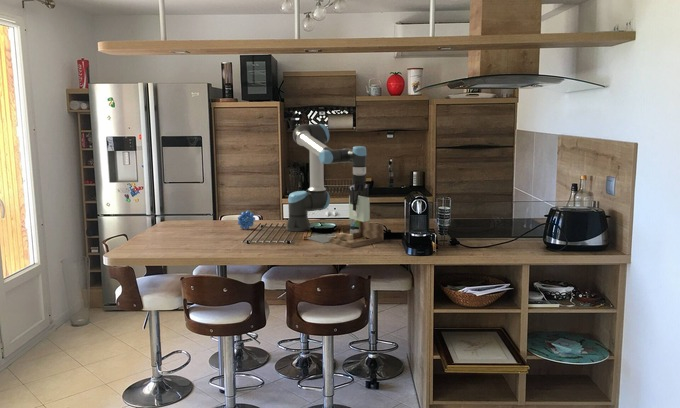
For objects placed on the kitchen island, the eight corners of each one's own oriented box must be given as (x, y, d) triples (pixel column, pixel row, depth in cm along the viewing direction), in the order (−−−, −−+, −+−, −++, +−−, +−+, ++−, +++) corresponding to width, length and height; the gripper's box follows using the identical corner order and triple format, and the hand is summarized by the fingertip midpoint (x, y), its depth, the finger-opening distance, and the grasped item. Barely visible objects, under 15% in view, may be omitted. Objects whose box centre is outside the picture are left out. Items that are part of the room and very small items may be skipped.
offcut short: (337, 238, 311) (337, 233, 311) (341, 237, 314) (341, 232, 313) (350, 240, 307) (350, 235, 306) (353, 239, 310) (353, 234, 309)
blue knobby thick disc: (257, 228, 355) (257, 209, 353) (254, 230, 348) (253, 211, 346) (240, 227, 357) (239, 208, 355) (236, 229, 351) (235, 210, 349)
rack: (329, 242, 315) (328, 226, 313) (361, 235, 331) (361, 220, 329) (350, 248, 301) (350, 231, 300) (383, 240, 317) (383, 225, 316)
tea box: (366, 235, 331) (366, 210, 329) (349, 235, 333) (349, 210, 331) (370, 230, 346) (370, 206, 343) (354, 229, 348) (354, 206, 345)
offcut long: (336, 243, 314) (336, 238, 314) (340, 242, 316) (340, 237, 316) (352, 246, 306) (352, 241, 305) (356, 245, 308) (356, 240, 307)
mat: (306, 238, 324) (306, 238, 324) (322, 235, 332) (322, 234, 332) (323, 243, 312) (323, 242, 312) (339, 240, 320) (339, 239, 320)
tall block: (349, 218, 319) (349, 195, 317) (354, 217, 322) (355, 194, 320) (363, 221, 310) (363, 198, 308) (369, 220, 313) (369, 197, 311)
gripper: (352, 176, 303) (351, 218, 307) (375, 173, 314) (375, 214, 318) (343, 175, 309) (342, 216, 313) (366, 172, 320) (366, 212, 324)
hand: (359, 215), depth 316 cm, fingers closed on tall block, 4 cm apart
